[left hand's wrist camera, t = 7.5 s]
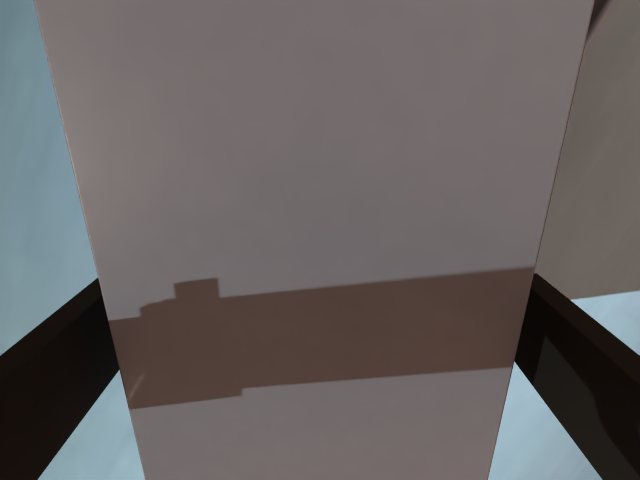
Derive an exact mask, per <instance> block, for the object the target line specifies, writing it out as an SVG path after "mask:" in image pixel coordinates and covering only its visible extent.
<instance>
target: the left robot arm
mask: <svg viewBox="0 0 640 480" xmlns="http://www.w3.org/2000/svg"><path fill="white" fill-rule="evenodd" d="M514 361H515V363H516V364H517V365H518V367H519V368H520V369H521V371H522V372H523V373H524V375H525V376H526V377H527V379H528V380H529V381H530V383H531V384H532V385H533V387H534V388H535V389H536V391H537V392H538V394H539V395H540V396H541V398H542V399H543V400H544V402H545V403H546V404H547V406H548V407H549V408H550V410H551V411H552V412H553V414H554V415H555V416H556V418H557V419H558V420H559V422H560V423H561V424H562V426H563V427H564V428H565V430H566V431H567V432H568V434H569V435H570V437H571V438H572V439H573V441H574V442H575V443H576V445H577V446H578V447H579V449H580V450H581V451H582V453H583V454H584V455H585V457H586V458H587V459H588V461H589V462H590V463H591V465H592V466H593V467H594V469H595V470H596V471H597V473H598V474H599V475H600V477H601V478H602V480H640V355H638V354H637V353H635V352H634V351H633V350H632V349H630V348H629V347H628V346H627V345H625V344H624V343H623V342H622V341H620V340H619V339H618V338H617V337H615V336H614V335H613V334H612V333H610V332H609V331H608V330H607V329H605V328H604V327H603V326H602V325H600V324H599V323H598V322H597V321H595V320H594V319H593V318H592V317H590V316H589V315H588V314H587V313H585V312H584V311H583V310H582V309H580V308H579V307H578V306H577V305H575V304H574V303H573V302H572V301H570V300H569V299H568V298H567V297H565V296H564V295H563V294H562V293H561V292H559V291H558V290H557V289H556V288H554V287H553V286H552V285H551V284H549V283H548V282H547V281H546V280H544V279H543V278H542V277H541V276H539V275H538V274H534V275H533V279H532V284H531V288H530V293H529V297H528V302H527V306H526V311H525V315H524V319H523V324H522V328H521V333H520V337H519V342H518V346H517V351H516V355H515V360H514ZM118 371H119V364H118V360H117V356H116V352H115V347H114V343H113V339H112V334H111V330H110V326H109V322H108V317H107V313H106V309H105V304H104V300H103V296H102V291H101V287H100V283H99V279H98V278H97V279H96V280H94V281H93V282H92V283H91V284H89V285H88V286H87V287H86V288H84V289H83V290H82V291H81V292H79V293H78V294H77V295H76V296H75V297H73V298H72V299H71V300H70V301H68V302H67V303H66V304H65V305H63V306H62V307H61V308H60V309H58V310H57V311H56V312H55V313H53V314H52V315H51V316H50V317H48V318H47V319H46V320H45V321H43V322H42V323H41V324H40V325H38V326H37V327H36V328H35V329H33V330H32V331H31V332H30V333H28V334H27V335H26V336H25V337H23V338H22V339H21V340H20V341H18V342H17V343H16V344H15V345H13V346H12V347H11V348H10V349H8V350H7V351H6V352H5V353H3V354H2V355H1V356H0V480H38V478H39V477H40V475H41V474H42V473H43V471H44V470H45V469H46V467H47V466H48V465H49V463H50V462H51V461H52V459H53V458H54V457H55V455H56V454H57V453H58V451H59V450H60V449H61V447H62V446H63V445H64V443H65V442H66V441H67V439H68V438H69V437H70V435H71V434H72V432H73V431H74V430H75V428H76V427H77V426H78V424H79V423H80V422H81V420H82V419H83V418H84V416H85V415H86V414H87V412H88V411H89V410H90V408H91V407H92V406H93V404H94V403H95V402H96V400H97V399H98V398H99V396H100V395H101V394H102V392H103V391H104V389H105V388H106V387H107V385H108V384H109V383H110V381H111V380H112V379H113V377H114V376H115V375H116V373H117V372H118Z"/></svg>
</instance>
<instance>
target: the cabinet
mask: <svg viewBox="0 0 640 480" xmlns="http://www.w3.org/2000/svg"><path fill="white" fill-rule="evenodd" d="M594 2H595V0H34V4H35V8H36V12H37V17H38V21H39V25H40V30H41V34H42V38H43V42H44V47H45V51H46V55H47V60H48V64H49V68H50V73H51V77H52V81H53V85H54V90H55V94H56V98H57V103H58V107H59V111H60V115H61V120H62V124H63V128H64V133H65V137H66V141H67V145H68V150H69V154H70V158H71V163H72V167H73V171H74V176H75V180H76V184H77V188H78V193H79V197H80V201H81V206H82V210H83V214H84V218H85V223H86V227H87V231H88V236H89V240H90V244H91V249H92V253H93V257H94V261H95V266H96V270H97V274H98V279H99V283H100V287H101V291H102V296H103V300H104V304H105V309H106V313H107V317H108V322H109V326H110V330H111V334H112V339H113V343H114V347H115V352H116V356H117V360H118V364H119V369H120V373H121V377H122V382H123V386H124V390H125V394H126V399H127V403H128V407H129V412H130V416H131V420H132V425H133V429H134V433H135V437H136V442H137V446H138V450H139V455H140V459H141V463H142V467H143V472H144V476H145V480H488V476H489V472H490V467H491V463H492V458H493V454H494V449H495V445H496V440H497V436H498V431H499V427H500V422H501V418H502V413H503V409H504V404H505V400H506V396H507V391H508V387H509V382H510V378H511V373H512V369H513V364H514V360H515V355H516V351H517V346H518V342H519V337H520V333H521V328H522V324H523V319H524V315H525V311H526V306H527V302H528V297H529V293H530V288H531V284H532V279H533V275H534V270H535V266H536V261H537V257H538V252H539V248H540V243H541V239H542V234H543V230H544V226H545V221H546V217H547V212H548V208H549V203H550V199H551V194H552V190H553V185H554V181H555V176H556V172H557V167H558V163H559V158H560V154H561V149H562V145H563V141H564V136H565V132H566V127H567V123H568V118H569V114H570V109H571V105H572V100H573V96H574V91H575V87H576V82H577V78H578V73H579V69H580V64H581V60H582V56H583V51H584V47H585V42H586V38H587V33H588V29H589V24H590V20H591V15H592V11H593V6H594Z"/></svg>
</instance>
